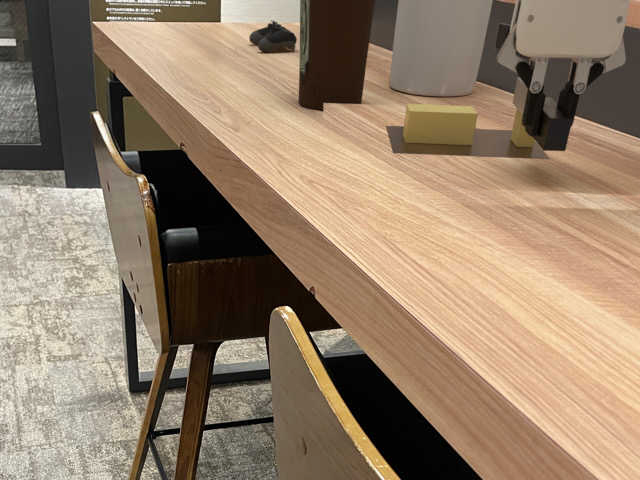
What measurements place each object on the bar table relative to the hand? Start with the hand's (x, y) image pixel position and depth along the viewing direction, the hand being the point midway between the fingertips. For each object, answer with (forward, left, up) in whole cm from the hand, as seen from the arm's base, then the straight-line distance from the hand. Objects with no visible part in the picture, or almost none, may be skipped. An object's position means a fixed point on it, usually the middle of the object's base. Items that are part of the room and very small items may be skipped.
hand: (544, 132), depth 86 cm
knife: (0, -6, 0) cm, 6 cm away
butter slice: (-1, -14, -4) cm, 15 cm away
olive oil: (+22, -41, -6) cm, 47 cm away
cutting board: (+6, -14, -6) cm, 16 cm away
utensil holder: (+5, -56, -6) cm, 57 cm away
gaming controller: (+33, -93, -6) cm, 99 cm away
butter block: (+9, -14, -4) cm, 17 cm away
